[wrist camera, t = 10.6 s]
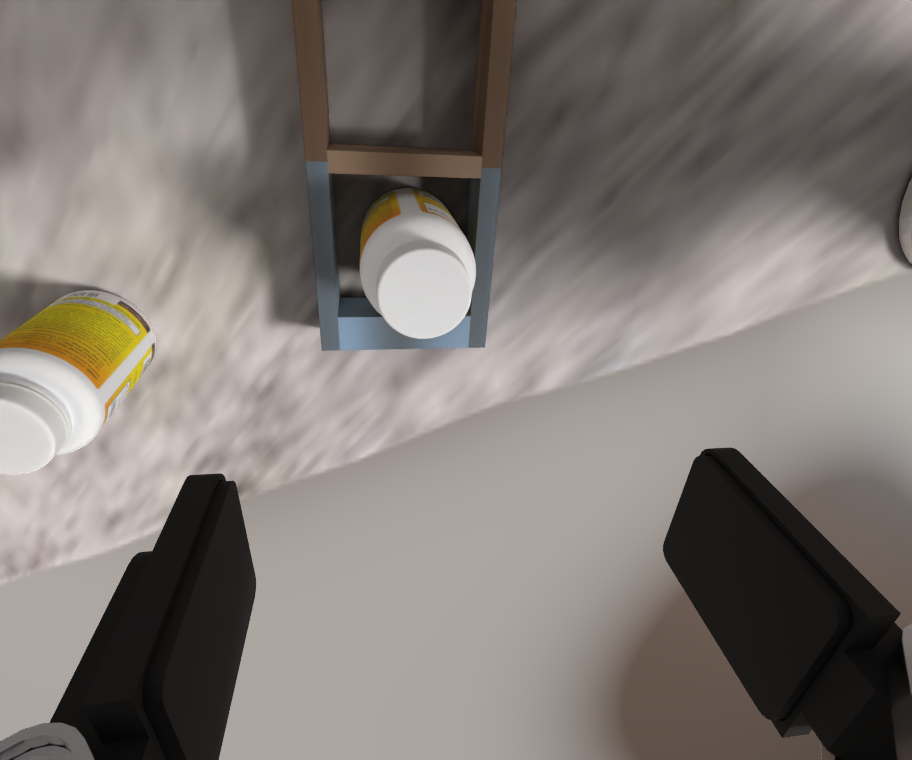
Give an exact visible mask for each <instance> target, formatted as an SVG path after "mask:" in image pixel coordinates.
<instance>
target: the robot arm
mask: <svg viewBox="0 0 912 760" xmlns="http://www.w3.org/2000/svg"><path fill="white" fill-rule="evenodd" d="M899 239H900V243H901V247H902V251H903V252H904V254H905V256H906V258H907V259H908V261H909V262H910V263H911V264H912V178H911V180H910V182H909V185H908V188H907V190H906V193H905V196H904V199H903V202H902V207H901V212H900V218H899ZM663 552H664V556H665V559H666V561H667V563H668V565H669V566H670V568H671V569H672V571H673V573H674V574H675V576H676V577H677V579H678V581H679V582H680V584H681V585H682V587H683V588H684V590H685V592H686V594H687V595H688V597H689V599H690V600H691V602H692V603H693V605H694V607H695V608H696V610H697V611H698V613H699V615H700V616H701V618H702V619H703V621H704V623H705V624H706V626H707V628H708V629H709V631H710V632H711V634H712V636H713V637H714V639H715V641H716V642H717V644H718V645H719V647H720V649H721V650H722V652H723V654H724V655H725V657H726V658H727V660H728V662H729V663H730V665H731V666H732V668H733V670H734V671H735V673H736V675H737V676H738V678H739V679H740V681H741V683H742V684H743V685H744V688H745V689H746V691H747V692H748V694H749V696H750V697H751V699H752V700H753V702H754V704H755V705H756V707H757V708H758V710H759V711H760V712H761V714H762V715H763V716H765V718H767V719H769V720H771V721H772V722H773V724H774V726H775V727H776V729H777V730H778V732H779V734H780V735H781V737H782V738H785V737H791V736H798V735H805V734H809V732H810V731H811V730H812V729H813V731H814V732H815V734H816V735H817V737H818V738H819V740H820V741H821V760H912V624H909V625H908V626H907V627H906V628H905V629H904V630H903V631H902V630H901V629H900V628H899V627H898V626H897V625H896V624H895V623H894V622H895V621H896V619H897V618H898V617H899V615H900V612H899V611H898V610H896V609H895V607H894V606H893V605H892V604H891V603H890V602H889V601H888V600H887V599H886V598H884V596H883V595H882V594H881V593H879V591H878V590H876V588H875V587H874V586H873V585H872V584H871V583H870V582H869V581H868V580H867V579H866V578H865V577H864V576H863V575H862V574H861V573H860V572H859V571H858V570H857V569H856V568H855V567H854V566H853V565H852V564H851V563H850V562H849V561H848V560H847V559H846V558H845V557H844V556H843V555H842V554H841V553H840V552H839V551H838V550H837V549H836V548H835V547H834V546H833V545H832V544H831V543H830V542H829V541H828V540H827V539H826V538H825V537H824V536H823V535H822V534H821V533H820V532H819V531H818V530H817V529H816V528H815V527H814V526H813V525H812V524H811V523H810V522H809V521H808V520H807V519H806V518H805V517H804V516H803V515H802V514H801V513H800V512H799V511H798V510H797V509H796V508H795V507H794V506H793V505H792V504H791V503H790V502H789V501H788V500H787V499H786V498H785V497H784V496H783V495H782V494H781V493H780V492H779V491H778V490H777V489H776V488H775V487H774V486H773V485H772V484H771V483H770V482H769V481H768V480H767V479H766V478H765V477H764V476H763V475H762V474H761V473H760V472H759V471H758V470H757V469H756V468H755V467H754V466H753V465H752V464H751V463H750V462H749V461H748V460H747V459H746V458H745V457H744V456H743V455H742V454H741V453H740V452H739V451H738V450H736V449H734V448H714V449H705V450H704V451H702V452H701V454H700V456H698V457H696V458H695V460H694V462H693V464H692V467H691V470H690V472H689V475H688V478H687V481H686V483H685V486H684V489H683V492H682V494H681V497H680V500H679V503H678V505H677V508H676V511H675V514H674V516H673V519H672V522H671V524H670V527H669V530H668V533H667V535H666V538H665V541H664V545H663ZM255 590H256V577H255V572H254V567H253V563H252V558H251V553H250V549H249V543H248V539H247V534H246V529H245V525H244V520H243V515H242V510H241V505H240V501H239V496H238V491H237V487H236V483H235V482H234V481H226V480H225V477H224V475H223V474H203V475H190V476H188V477H187V478H186V480H185V482H184V484H183V486H182V488H181V490H180V492H179V495H178V497H177V499H176V501H175V503H174V505H173V508H172V510H171V512H170V514H169V516H168V518H167V521H166V523H165V525H164V527H163V529H162V531H161V534H160V536H159V538H158V540H157V543H156V544H155V547H154V549H153V551H150V552H140V553H138V554H136V555H135V556H134V557H133V559H132V560H131V562H130V563H129V565H128V567H127V569H126V571H125V573H124V575H123V577H122V579H121V581H120V583H119V585H118V587H117V589H116V591H115V593H114V595H113V597H112V599H111V601H110V603H109V605H108V607H107V609H106V611H105V613H104V615H103V617H102V619H101V621H100V623H99V625H98V627H97V629H96V631H95V633H94V635H93V637H92V639H91V641H90V643H89V645H88V647H87V649H86V651H85V653H84V655H83V657H82V659H81V661H80V663H79V665H78V667H77V669H76V671H75V673H74V675H73V677H72V679H71V681H70V683H69V685H68V687H67V689H66V691H65V693H64V695H63V697H62V699H61V701H60V703H59V705H58V707H57V709H56V711H55V713H54V715H53V717H52V719H51V721H50V723H43V724H39V725H36V726H33V727H29V728H26V729H23V730H21V731H19V732H17V733H15V734H13V735H12V736H10V737H8V738H6V739H4V740H2V741H0V760H219V755H220V751H221V746H222V742H223V737H224V733H225V728H226V723H227V719H228V715H229V710H230V706H231V701H232V697H233V692H234V688H235V683H236V679H237V674H238V670H239V665H240V661H241V656H242V651H243V648H244V643H245V639H246V634H247V630H248V625H249V621H250V616H251V612H252V607H253V603H254V598H255Z"/></svg>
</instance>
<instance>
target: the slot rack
mask: <svg viewBox="0 0 912 760" xmlns="http://www.w3.org/2000/svg"><path fill="white" fill-rule="evenodd" d="M516 3H517V0H481V8H480V24H479V40H478V55H477V71H476V87H475V103H474V118H473V134H472V150H468V149H444V148H421V147H398V146H374V145H351V144H331V142H330V126H329V110H328V94H327V78H326V62H325V46H324V30H323V13H322V0H292V8H293V20H294V32H295V43H296V55H297V66H298V78H299V90H300V101H301V113H302V125H303V136H304V148H305V160H306V171H307V183H308V194H309V206H310V218H311V229H312V241H313V253H314V264H315V276H316V287H317V299H318V311H319V322H320V334H321V346H322V351H323V350H374V349H426V348H477V347H485V341H486V330H487V319H488V308H489V297H490V286H491V275H492V264H493V253H494V242H495V232H496V221H497V210H498V199H499V188H500V177H501V166H502V155H503V144H504V133H505V123H506V112H507V101H508V90H509V79H510V68H511V57H512V46H513V35H514V24H515V13H516ZM332 173H335V174H365V175H394V176H423V177H453V178H470V181H469V197H468V213H467V229H466V239H467V241H468V243H469V245H470V247H471V249H472V252H473V254H474V258H475V264H476V279H475V284H474V288H473V291H472V297H471V303H470V307H469V309H468V311H467V313H466V315H465V317H464V318H463V319H462V321H461V322H460V323H459V324H458V325H457V326H456V327H455V328H454V329H452V330H451V331H449V332H447V333H446V334H443V335H441V336H438V337H434V338H429V339H417V338H412V337H408V336H405V335H403V334H401V333H399V332H397V331H396V330H394V329H393V328H392V327H391V326H390V325H389V324H388V323H387V322H386V321H385V319H384V318H383V316H382V315H381V314H380V313H378V312H377V311H376V310H375V308H374V307H373V306H372V304H371V303H370V302H369V300H368V298H340V286H339V270H338V254H337V238H336V222H335V206H334V190H333V174H332Z"/></svg>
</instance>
